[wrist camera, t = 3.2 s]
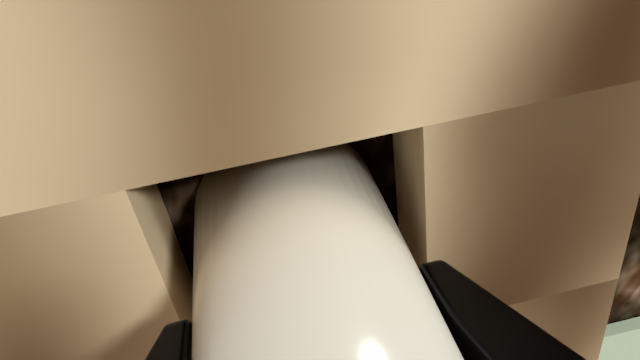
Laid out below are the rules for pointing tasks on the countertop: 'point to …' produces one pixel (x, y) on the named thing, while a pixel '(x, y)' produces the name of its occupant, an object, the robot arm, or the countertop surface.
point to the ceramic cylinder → (307, 267)
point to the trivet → (621, 340)
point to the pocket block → (311, 146)
